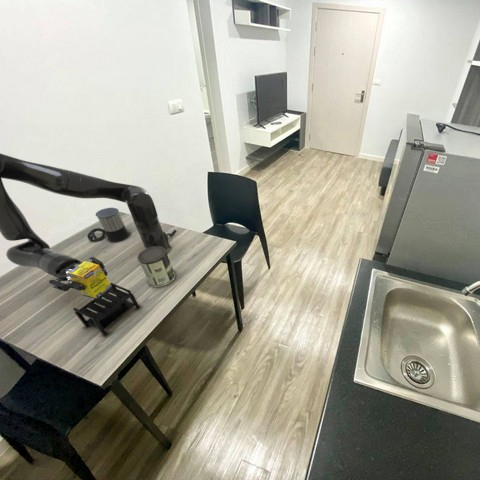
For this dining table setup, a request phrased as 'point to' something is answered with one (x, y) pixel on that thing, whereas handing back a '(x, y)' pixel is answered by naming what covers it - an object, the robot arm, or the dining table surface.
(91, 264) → the supplement box
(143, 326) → the dining table surface
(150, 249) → the coffee can
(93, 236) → the milk frother
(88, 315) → the rack
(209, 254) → the dining table surface
